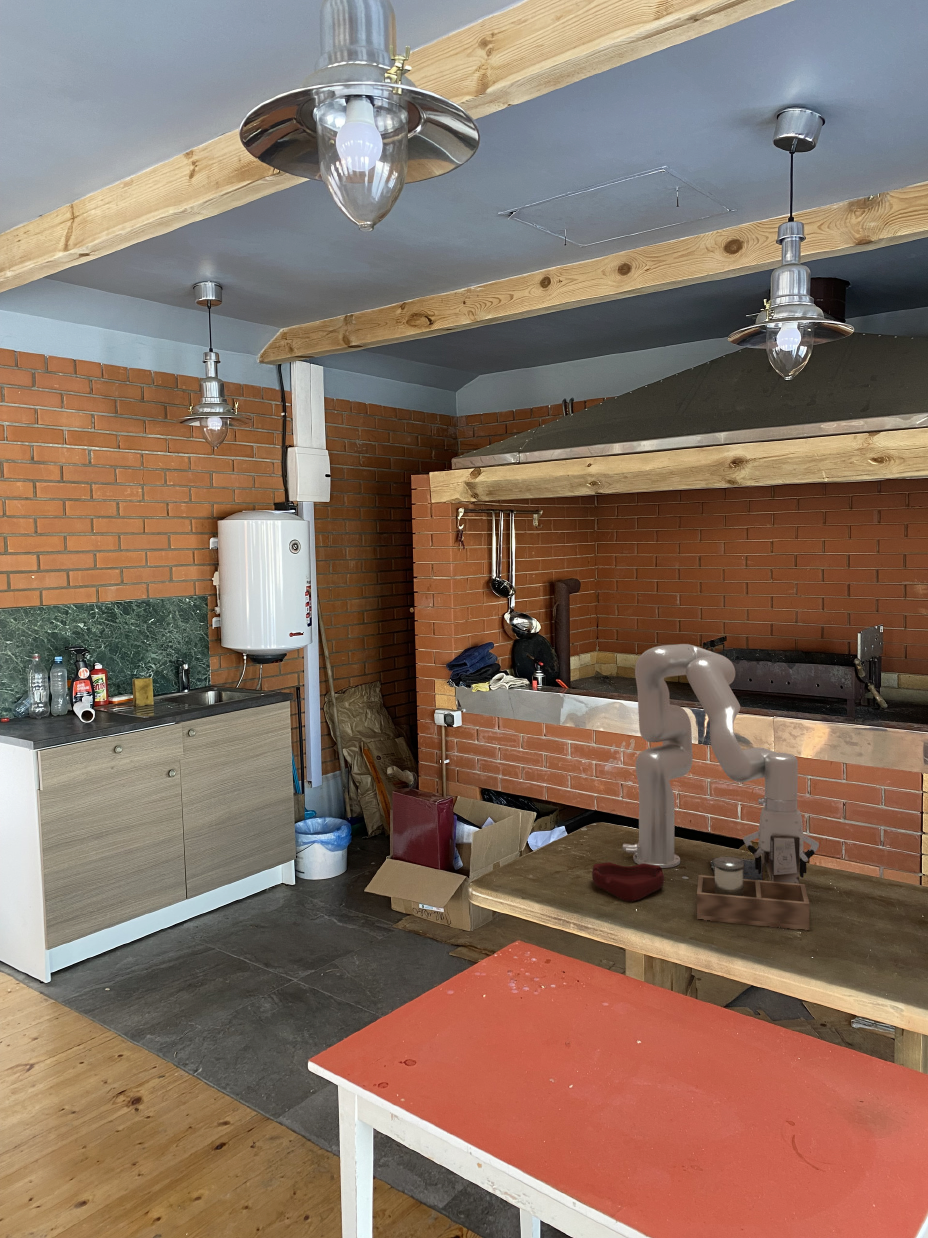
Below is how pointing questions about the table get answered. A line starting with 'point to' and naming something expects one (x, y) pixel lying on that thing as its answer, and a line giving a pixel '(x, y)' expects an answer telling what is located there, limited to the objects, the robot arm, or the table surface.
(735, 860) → the tea tin
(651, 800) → the robot arm
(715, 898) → the caddy
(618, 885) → the ashtray
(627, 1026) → the table surface
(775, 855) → the coffee box
